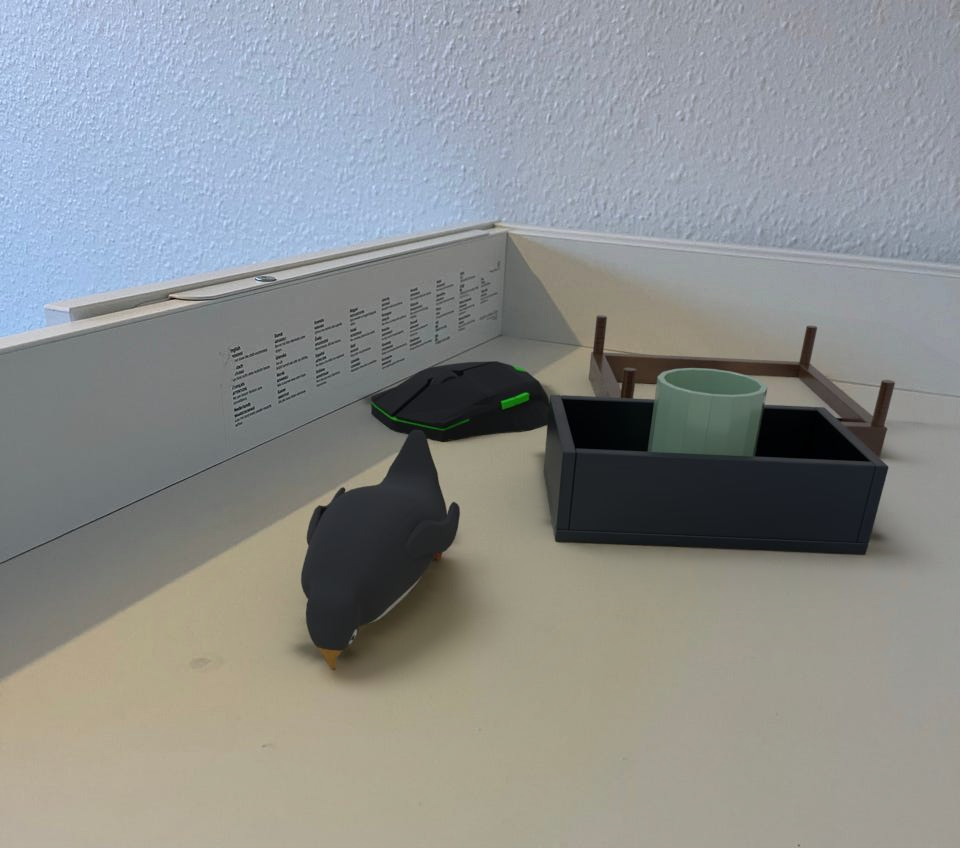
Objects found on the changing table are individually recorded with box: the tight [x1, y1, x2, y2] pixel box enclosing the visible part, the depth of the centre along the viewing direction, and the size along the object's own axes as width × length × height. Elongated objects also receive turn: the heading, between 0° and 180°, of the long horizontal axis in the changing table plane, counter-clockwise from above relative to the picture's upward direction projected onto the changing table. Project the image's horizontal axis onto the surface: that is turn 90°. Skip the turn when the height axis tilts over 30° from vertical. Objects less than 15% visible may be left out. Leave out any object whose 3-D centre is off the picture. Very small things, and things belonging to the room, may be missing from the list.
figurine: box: [300, 430, 461, 670], centre depth 51 cm, size 7×10×15 cm
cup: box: [648, 368, 768, 457], centre depth 65 cm, size 7×7×8 cm
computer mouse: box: [370, 360, 550, 442], centre depth 83 cm, size 11×16×4 cm
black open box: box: [543, 394, 889, 555], centre depth 66 cm, size 20×13×6 cm, turn 90°
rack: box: [588, 314, 896, 459], centre depth 87 cm, size 21×21×6 cm
